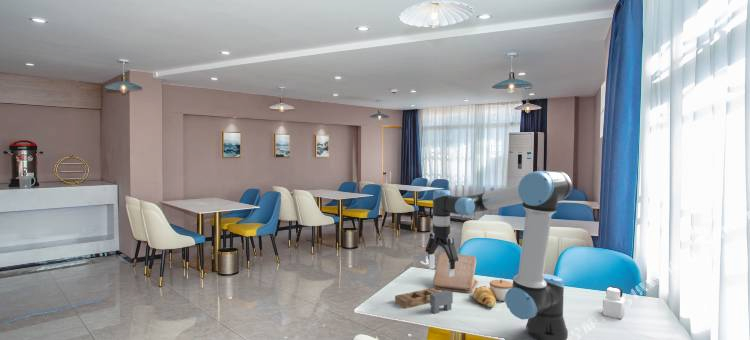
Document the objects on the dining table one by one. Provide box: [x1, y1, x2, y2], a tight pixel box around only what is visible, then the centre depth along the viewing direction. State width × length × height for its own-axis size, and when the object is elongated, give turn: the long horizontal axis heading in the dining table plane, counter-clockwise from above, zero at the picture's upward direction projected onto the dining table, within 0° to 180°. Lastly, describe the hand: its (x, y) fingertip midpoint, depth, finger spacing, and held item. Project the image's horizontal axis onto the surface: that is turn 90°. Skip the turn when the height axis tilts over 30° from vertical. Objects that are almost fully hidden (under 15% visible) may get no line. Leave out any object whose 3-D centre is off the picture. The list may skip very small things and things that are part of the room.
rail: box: [394, 287, 441, 309], centre depth 208 cm, size 22×9×3 cm, turn 120°
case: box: [432, 252, 479, 294], centre depth 230 cm, size 20×21×16 cm
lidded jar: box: [489, 278, 513, 302], centre depth 209 cm, size 11×11×9 cm
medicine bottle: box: [602, 285, 626, 320], centre depth 189 cm, size 7×7×12 cm
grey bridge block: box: [429, 290, 454, 315], centre depth 195 cm, size 10×4×8 cm, turn 120°
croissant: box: [472, 285, 497, 308], centre depth 206 cm, size 21×10×8 cm, turn 6°
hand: (441, 272), depth 194 cm, fingers open, 13 cm apart
